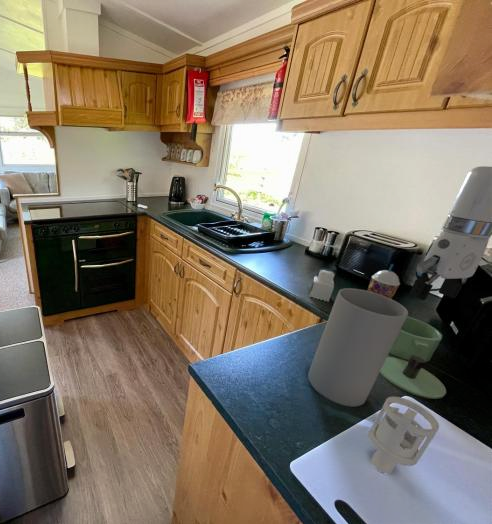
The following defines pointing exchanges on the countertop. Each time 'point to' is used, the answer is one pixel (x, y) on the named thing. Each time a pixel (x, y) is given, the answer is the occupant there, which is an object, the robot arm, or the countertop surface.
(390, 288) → the smoothie
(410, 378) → the lid
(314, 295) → the medicine bottle
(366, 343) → the cylinder vase
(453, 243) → the robot arm
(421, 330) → the pot
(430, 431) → the strainer
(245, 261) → the countertop surface
